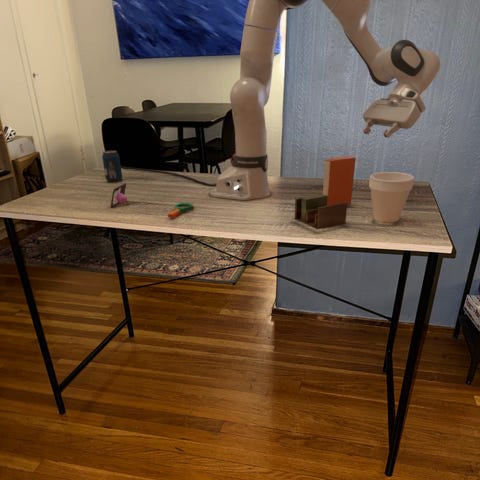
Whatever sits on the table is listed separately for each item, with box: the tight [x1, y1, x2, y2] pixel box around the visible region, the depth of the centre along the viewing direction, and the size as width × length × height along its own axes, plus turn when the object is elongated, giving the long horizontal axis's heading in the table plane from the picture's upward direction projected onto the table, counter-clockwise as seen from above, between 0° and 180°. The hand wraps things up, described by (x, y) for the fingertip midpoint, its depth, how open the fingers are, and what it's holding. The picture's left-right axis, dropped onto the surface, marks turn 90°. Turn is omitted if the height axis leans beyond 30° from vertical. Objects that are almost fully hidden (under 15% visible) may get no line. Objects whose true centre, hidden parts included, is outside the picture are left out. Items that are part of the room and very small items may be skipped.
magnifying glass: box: [167, 202, 194, 219], centre depth 151 cm, size 15×6×2 cm, turn 164°
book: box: [322, 155, 357, 206], centre depth 149 cm, size 3×10×16 cm, turn 119°
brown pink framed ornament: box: [110, 183, 130, 208], centre depth 161 cm, size 7×5×9 cm
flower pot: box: [368, 171, 415, 223], centre depth 135 cm, size 12×12×14 cm
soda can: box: [101, 150, 123, 184], centre depth 192 cm, size 7×7×12 cm
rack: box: [293, 193, 348, 230], centre depth 136 cm, size 12×11×8 cm
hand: (375, 134), depth 149 cm, fingers open, 8 cm apart
